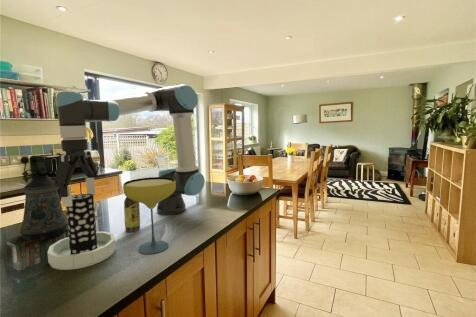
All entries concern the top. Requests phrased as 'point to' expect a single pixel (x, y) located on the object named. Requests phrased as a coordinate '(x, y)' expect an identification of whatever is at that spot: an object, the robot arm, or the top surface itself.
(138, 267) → the top surface
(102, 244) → the bowl
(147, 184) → the cocktail glass
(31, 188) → the beer stein
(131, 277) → the top surface
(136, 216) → the sauce bottle
